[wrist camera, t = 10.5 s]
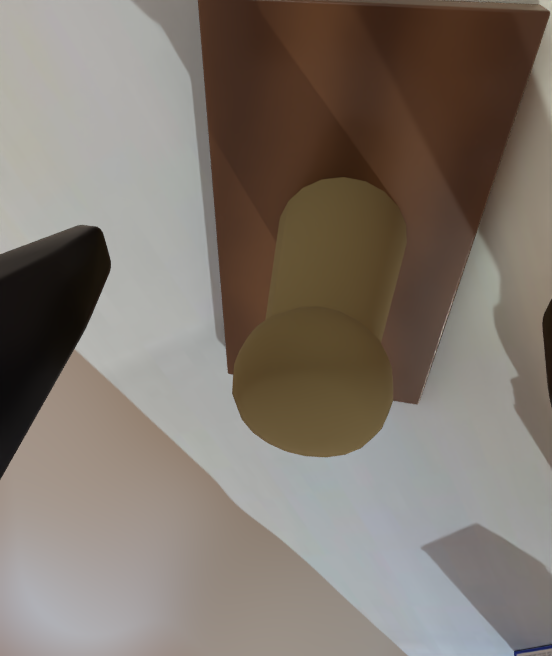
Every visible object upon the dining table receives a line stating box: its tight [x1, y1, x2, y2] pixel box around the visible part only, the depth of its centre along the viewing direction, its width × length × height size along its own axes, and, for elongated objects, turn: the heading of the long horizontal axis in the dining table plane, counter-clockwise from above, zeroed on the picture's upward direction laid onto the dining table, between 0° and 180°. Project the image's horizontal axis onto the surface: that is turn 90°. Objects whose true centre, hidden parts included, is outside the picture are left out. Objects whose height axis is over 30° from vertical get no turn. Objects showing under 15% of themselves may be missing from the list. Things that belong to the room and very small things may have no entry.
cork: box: [232, 177, 407, 457], centre depth 18 cm, size 6×6×11 cm
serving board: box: [198, 0, 550, 404], centre depth 23 cm, size 12×20×2 cm, turn 179°
